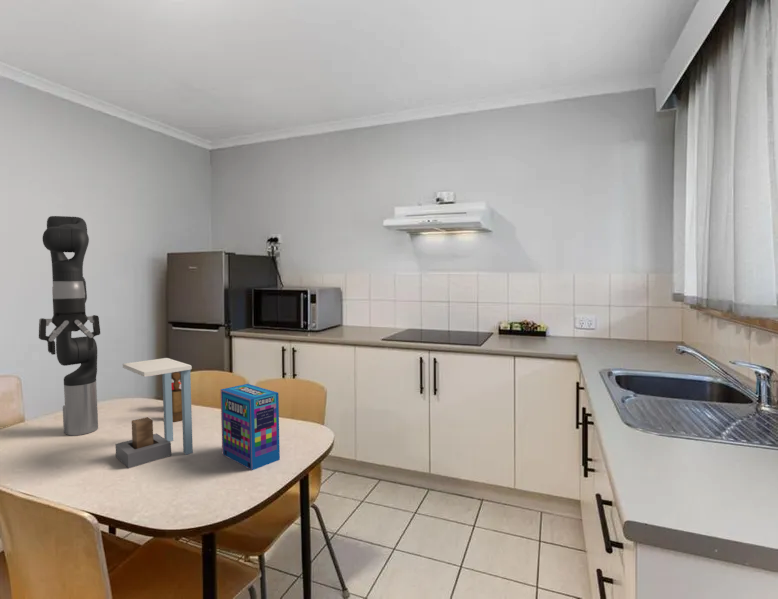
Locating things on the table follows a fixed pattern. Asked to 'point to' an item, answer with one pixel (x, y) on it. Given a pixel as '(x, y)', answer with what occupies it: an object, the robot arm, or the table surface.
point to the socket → (143, 451)
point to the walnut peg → (142, 432)
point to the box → (250, 425)
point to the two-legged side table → (170, 394)
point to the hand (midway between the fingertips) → (71, 352)
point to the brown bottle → (176, 398)
